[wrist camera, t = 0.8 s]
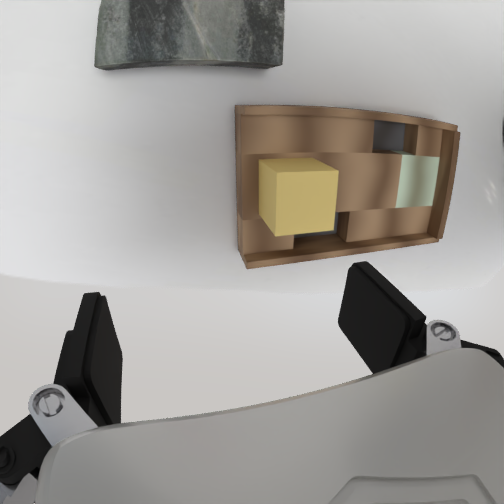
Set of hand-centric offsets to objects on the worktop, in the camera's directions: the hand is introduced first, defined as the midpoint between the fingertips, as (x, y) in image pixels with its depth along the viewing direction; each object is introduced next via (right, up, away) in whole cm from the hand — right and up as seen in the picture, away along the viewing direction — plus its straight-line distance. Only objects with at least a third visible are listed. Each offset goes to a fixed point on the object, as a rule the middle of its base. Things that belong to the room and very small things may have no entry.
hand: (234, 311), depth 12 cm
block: (+4, +8, +17) cm, 19 cm away
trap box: (+11, +10, +21) cm, 25 cm away
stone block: (-5, +22, +11) cm, 25 cm away
